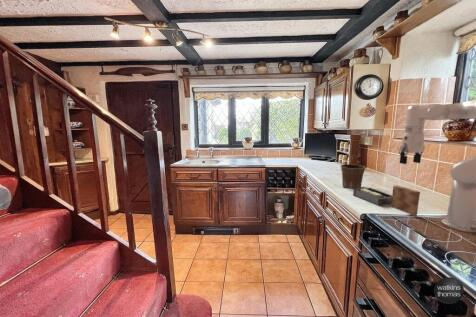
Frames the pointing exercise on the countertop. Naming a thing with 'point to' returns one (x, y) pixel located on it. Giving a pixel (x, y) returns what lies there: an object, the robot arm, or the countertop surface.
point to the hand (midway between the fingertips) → (409, 163)
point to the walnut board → (405, 200)
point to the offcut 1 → (365, 191)
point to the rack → (373, 197)
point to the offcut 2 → (375, 194)
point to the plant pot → (352, 175)
